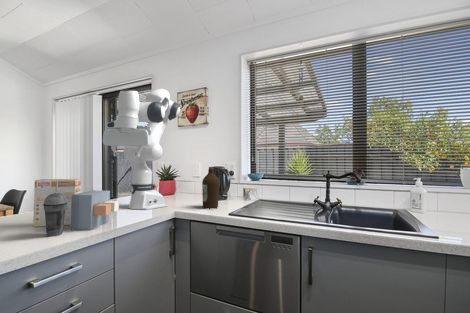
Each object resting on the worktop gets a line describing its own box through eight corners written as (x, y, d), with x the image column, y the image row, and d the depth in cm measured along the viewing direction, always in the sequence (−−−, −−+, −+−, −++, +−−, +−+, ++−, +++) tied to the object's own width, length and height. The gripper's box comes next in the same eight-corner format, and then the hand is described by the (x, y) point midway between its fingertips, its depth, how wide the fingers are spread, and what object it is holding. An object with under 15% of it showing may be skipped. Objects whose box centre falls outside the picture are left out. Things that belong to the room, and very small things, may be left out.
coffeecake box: (80, 221, 105) (81, 178, 105) (73, 225, 98) (75, 179, 99) (41, 222, 101) (43, 178, 102) (32, 227, 94) (34, 180, 95)
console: (109, 220, 106) (110, 190, 106) (90, 229, 92) (91, 195, 92) (91, 220, 106) (92, 190, 106) (70, 229, 92) (71, 194, 92)
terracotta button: (110, 213, 98) (111, 203, 98) (105, 215, 94) (105, 205, 94) (96, 213, 98) (96, 203, 98) (90, 215, 94) (91, 205, 94)
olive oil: (214, 205, 148) (215, 166, 148) (221, 208, 139) (222, 167, 139) (199, 206, 143) (200, 166, 143) (205, 209, 134) (206, 167, 134)
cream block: (118, 209, 105) (118, 201, 105) (114, 211, 101) (114, 202, 101) (105, 209, 105) (105, 200, 105) (100, 211, 101) (100, 202, 101)
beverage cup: (63, 230, 91) (65, 180, 91) (68, 234, 86) (70, 181, 86) (40, 234, 85) (42, 181, 86) (43, 239, 80) (46, 182, 81)
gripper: (153, 127, 105) (152, 157, 105) (109, 126, 105) (108, 155, 105) (148, 124, 99) (147, 156, 98) (101, 123, 99) (99, 155, 98)
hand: (126, 156), depth 101 cm, fingers open, 8 cm apart
